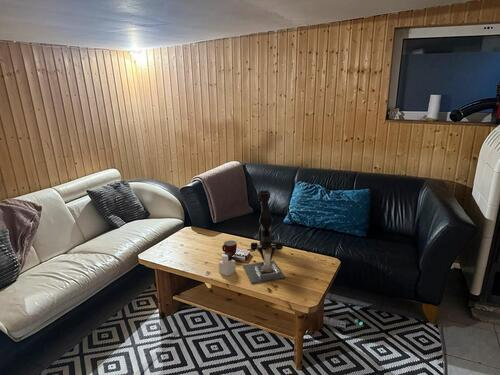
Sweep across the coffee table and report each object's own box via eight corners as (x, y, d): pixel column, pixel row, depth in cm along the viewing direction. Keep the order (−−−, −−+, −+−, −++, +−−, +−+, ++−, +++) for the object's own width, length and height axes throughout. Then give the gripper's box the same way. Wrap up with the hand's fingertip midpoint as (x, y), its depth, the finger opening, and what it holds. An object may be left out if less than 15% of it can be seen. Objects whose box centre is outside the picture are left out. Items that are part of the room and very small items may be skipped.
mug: (218, 257, 209) (218, 243, 207) (225, 252, 216) (224, 238, 214) (233, 261, 205) (232, 246, 202) (239, 255, 212) (238, 241, 209)
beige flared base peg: (259, 268, 192) (259, 252, 190) (269, 265, 195) (269, 250, 192) (264, 273, 186) (264, 258, 184) (275, 270, 189) (275, 255, 186)
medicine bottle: (227, 267, 197) (226, 249, 194) (235, 271, 193) (235, 253, 190) (218, 272, 192) (218, 254, 189) (227, 276, 188) (227, 257, 184)
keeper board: (251, 284, 180) (251, 280, 179) (242, 266, 198) (242, 262, 198) (285, 278, 185) (285, 274, 184) (273, 261, 203) (273, 258, 203)
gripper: (250, 230, 188) (251, 256, 181) (282, 229, 188) (284, 256, 181) (250, 236, 198) (251, 262, 190) (281, 236, 198) (283, 261, 190)
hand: (267, 260), depth 188 cm, fingers closed on beige flared base peg, 4 cm apart
